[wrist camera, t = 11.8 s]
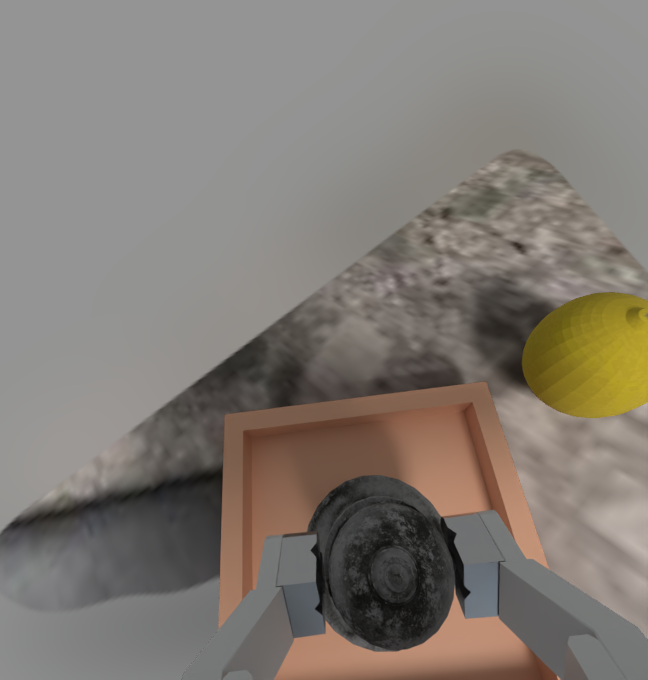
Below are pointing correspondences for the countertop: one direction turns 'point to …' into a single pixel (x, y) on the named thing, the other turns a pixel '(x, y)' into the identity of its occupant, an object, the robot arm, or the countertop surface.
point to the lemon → (591, 356)
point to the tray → (387, 460)
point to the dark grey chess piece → (383, 563)
